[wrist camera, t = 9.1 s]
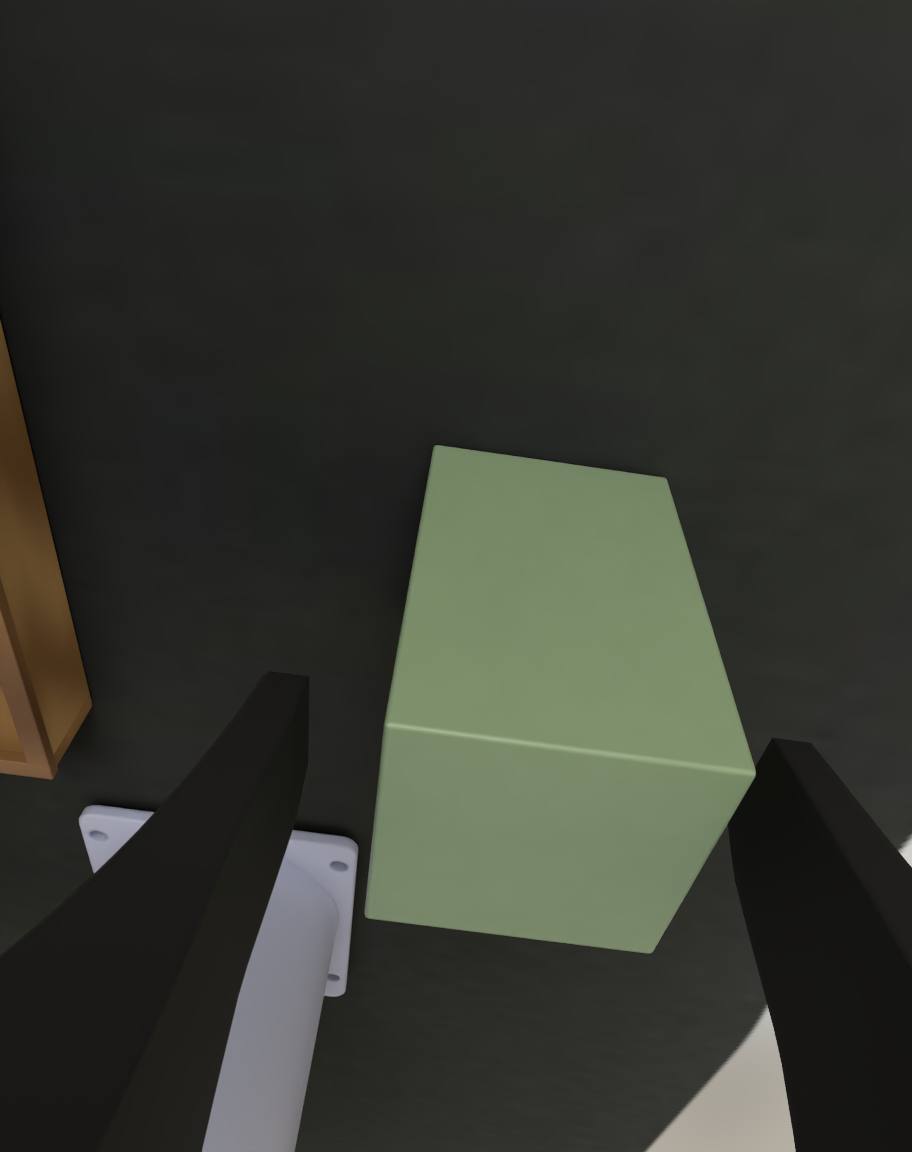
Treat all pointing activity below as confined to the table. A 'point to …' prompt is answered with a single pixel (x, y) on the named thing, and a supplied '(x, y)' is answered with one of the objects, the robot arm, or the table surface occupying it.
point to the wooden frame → (32, 612)
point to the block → (551, 711)
